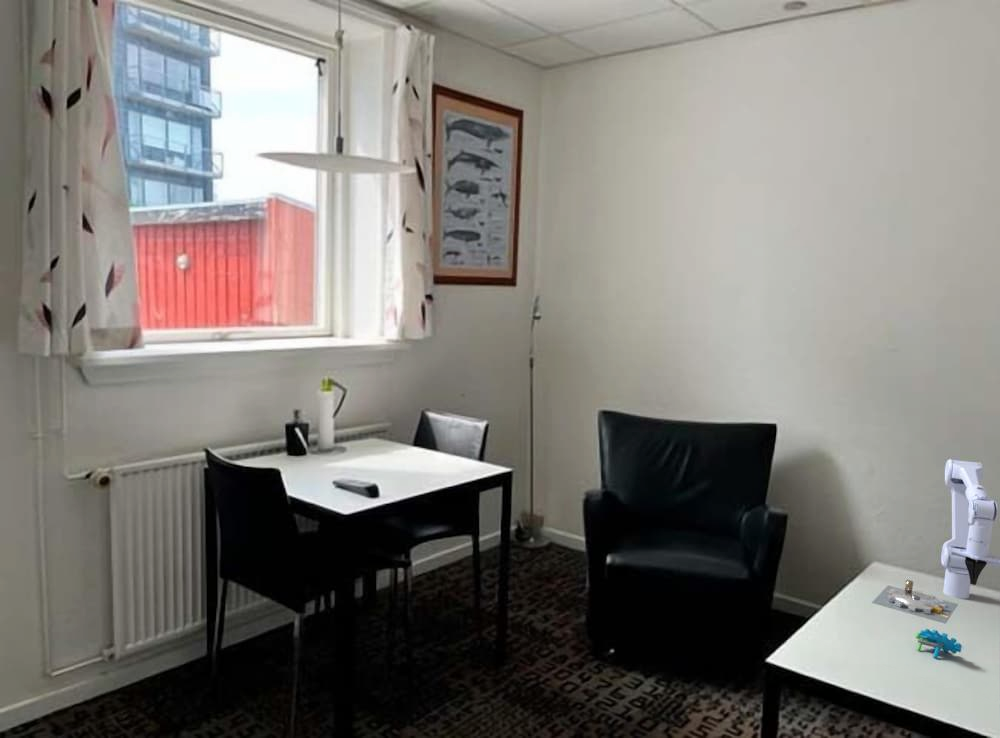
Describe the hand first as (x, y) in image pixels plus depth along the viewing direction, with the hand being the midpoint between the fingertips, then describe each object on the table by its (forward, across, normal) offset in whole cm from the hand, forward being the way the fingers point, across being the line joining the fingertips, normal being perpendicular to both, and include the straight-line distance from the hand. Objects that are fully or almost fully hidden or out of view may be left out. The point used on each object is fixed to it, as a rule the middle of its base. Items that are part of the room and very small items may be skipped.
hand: (973, 583), depth 231 cm
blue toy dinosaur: (+11, -2, -36) cm, 37 cm away
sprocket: (+9, -14, -4) cm, 17 cm away
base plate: (+10, -14, -4) cm, 18 cm away
